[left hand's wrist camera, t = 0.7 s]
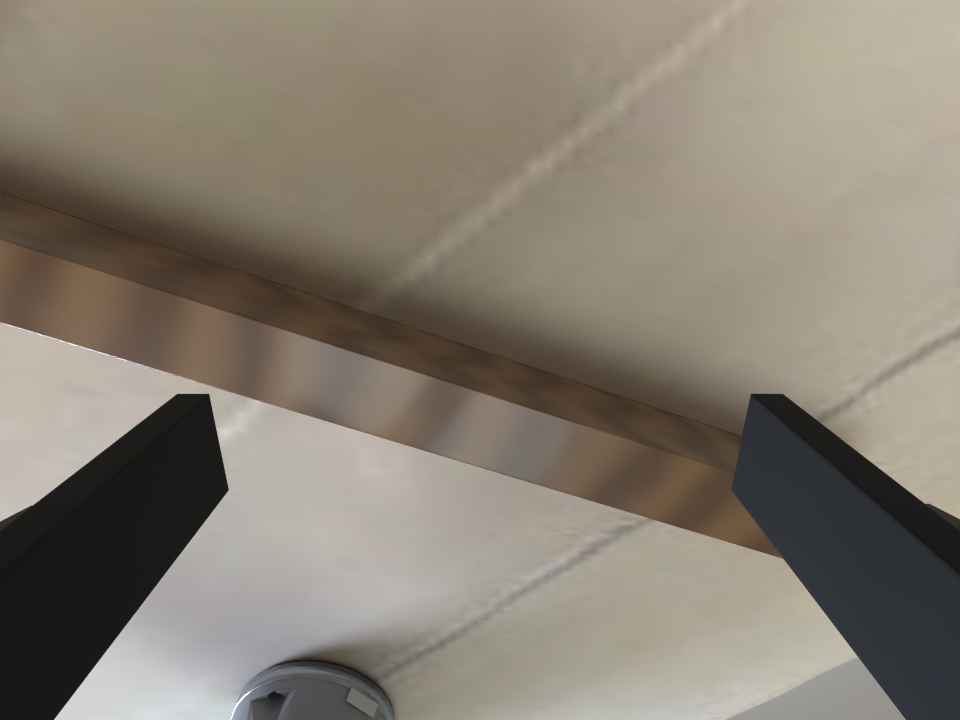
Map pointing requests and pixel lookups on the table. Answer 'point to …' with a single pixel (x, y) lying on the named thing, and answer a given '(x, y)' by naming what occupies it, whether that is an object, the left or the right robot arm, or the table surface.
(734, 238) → the table surface
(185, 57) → the table surface
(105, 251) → the post
